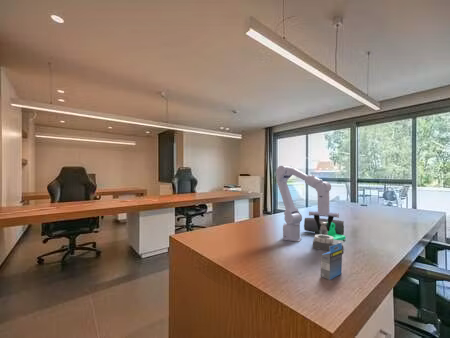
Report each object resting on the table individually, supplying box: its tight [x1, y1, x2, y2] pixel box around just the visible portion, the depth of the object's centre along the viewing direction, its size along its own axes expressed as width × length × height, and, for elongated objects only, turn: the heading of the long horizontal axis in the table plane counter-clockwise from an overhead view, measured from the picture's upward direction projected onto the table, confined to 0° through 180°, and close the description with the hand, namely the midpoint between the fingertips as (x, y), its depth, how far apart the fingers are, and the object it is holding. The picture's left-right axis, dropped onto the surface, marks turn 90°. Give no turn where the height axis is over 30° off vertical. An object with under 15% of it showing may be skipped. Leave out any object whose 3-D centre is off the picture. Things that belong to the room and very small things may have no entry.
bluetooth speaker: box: [303, 217, 345, 236], centre depth 143 cm, size 23×9×10 cm, turn 61°
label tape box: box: [320, 243, 343, 281], centre depth 85 cm, size 9×4×12 cm, turn 126°
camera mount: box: [328, 222, 347, 242], centre depth 130 cm, size 12×8×10 cm, turn 122°
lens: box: [319, 222, 328, 235], centre depth 117 cm, size 4×4×6 cm
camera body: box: [312, 234, 344, 254], centre depth 117 cm, size 14×9×6 cm, turn 62°
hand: (323, 230), depth 118 cm, fingers closed on lens, 4 cm apart
